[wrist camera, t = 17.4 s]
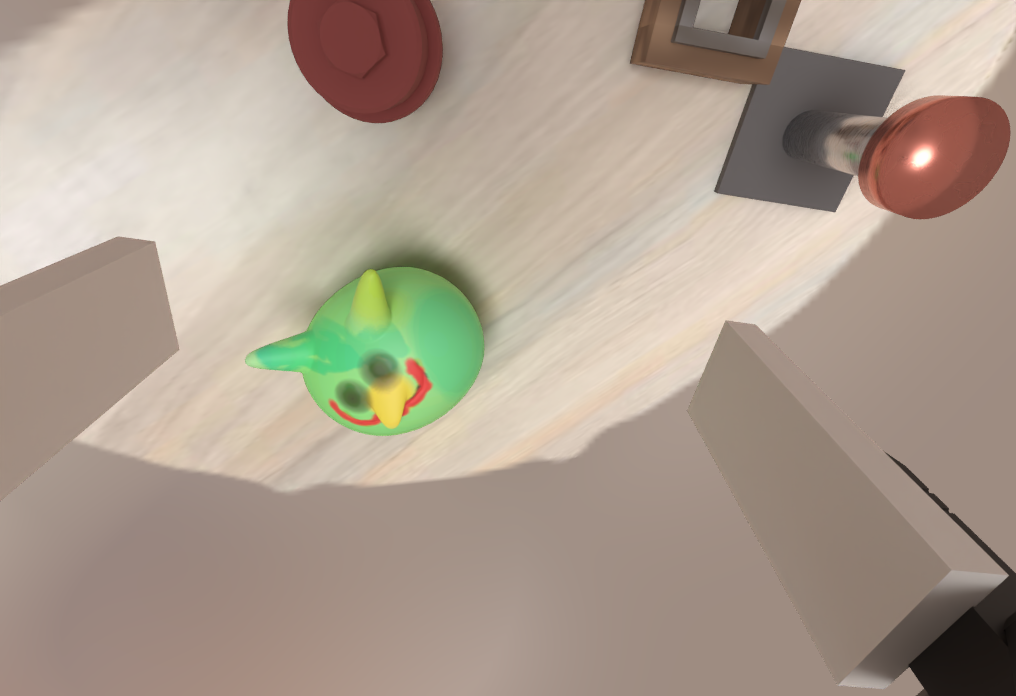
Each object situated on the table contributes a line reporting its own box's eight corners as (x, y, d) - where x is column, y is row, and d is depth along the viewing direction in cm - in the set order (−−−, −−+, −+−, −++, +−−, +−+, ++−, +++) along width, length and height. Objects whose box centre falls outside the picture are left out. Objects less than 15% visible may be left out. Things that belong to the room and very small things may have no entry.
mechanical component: (313, -16, 37) (438, -37, 37) (351, 122, 42) (461, 106, 42) (237, -53, 27) (411, -83, 26) (299, 139, 32) (447, 117, 31)
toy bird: (397, 406, 58) (367, 499, 45) (289, 307, 51) (218, 384, 38) (514, 327, 53) (518, 407, 40) (411, 205, 46) (375, 255, 33)
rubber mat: (766, 45, 39) (771, 44, 39) (898, 70, 40) (905, 70, 40) (714, 191, 45) (717, 193, 45) (830, 210, 46) (835, 212, 46)
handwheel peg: (752, 169, 44) (862, 210, 30) (785, 84, 40) (926, 87, 27) (823, 181, 44) (962, 226, 31) (862, 97, 41) (1037, 107, 27)
